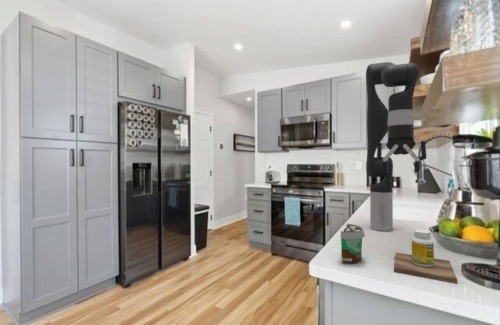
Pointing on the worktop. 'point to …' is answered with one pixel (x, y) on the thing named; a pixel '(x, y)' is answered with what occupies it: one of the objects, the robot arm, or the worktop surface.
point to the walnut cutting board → (425, 268)
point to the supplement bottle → (422, 248)
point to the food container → (351, 244)
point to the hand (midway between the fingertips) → (400, 172)
